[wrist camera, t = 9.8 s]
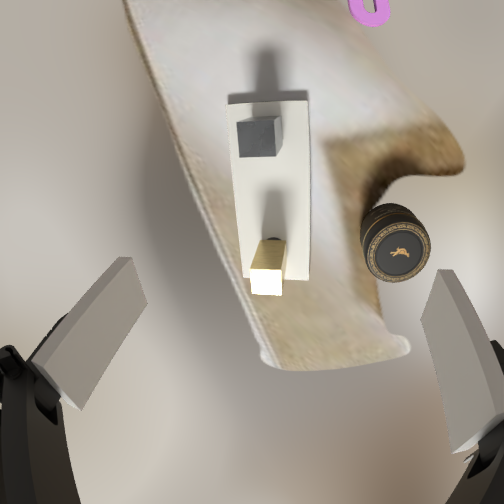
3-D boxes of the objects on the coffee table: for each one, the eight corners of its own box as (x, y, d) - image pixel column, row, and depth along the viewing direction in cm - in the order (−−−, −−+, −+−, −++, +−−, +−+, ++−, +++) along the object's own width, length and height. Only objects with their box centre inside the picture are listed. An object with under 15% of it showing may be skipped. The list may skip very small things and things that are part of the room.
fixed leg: (251, 116, 35) (236, 122, 28) (281, 115, 35) (273, 120, 27) (253, 145, 37) (239, 157, 30) (283, 144, 37) (276, 156, 29)
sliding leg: (260, 238, 44) (249, 269, 37) (286, 239, 43) (280, 270, 36) (262, 260, 46) (252, 293, 39) (287, 261, 45) (281, 295, 38)
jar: (350, 209, 41) (357, 232, 35) (410, 191, 37) (428, 211, 31) (365, 263, 45) (372, 291, 39) (420, 247, 41) (434, 273, 35)
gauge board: (228, 104, 36) (225, 105, 35) (307, 100, 34) (307, 100, 33) (245, 272, 50) (243, 277, 49) (308, 275, 48) (308, 280, 47)
